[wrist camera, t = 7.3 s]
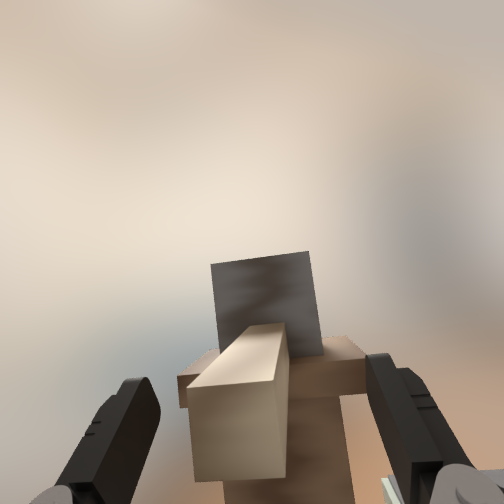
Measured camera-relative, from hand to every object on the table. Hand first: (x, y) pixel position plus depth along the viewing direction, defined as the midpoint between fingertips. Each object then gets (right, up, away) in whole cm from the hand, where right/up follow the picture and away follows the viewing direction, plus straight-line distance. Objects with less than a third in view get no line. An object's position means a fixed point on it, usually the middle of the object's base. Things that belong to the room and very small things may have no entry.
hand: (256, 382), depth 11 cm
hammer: (+1, -2, +5) cm, 5 cm away
